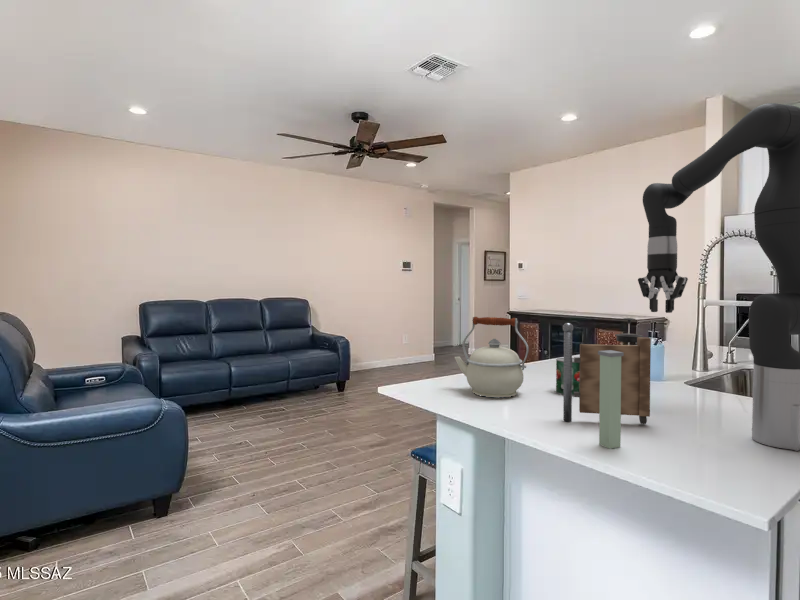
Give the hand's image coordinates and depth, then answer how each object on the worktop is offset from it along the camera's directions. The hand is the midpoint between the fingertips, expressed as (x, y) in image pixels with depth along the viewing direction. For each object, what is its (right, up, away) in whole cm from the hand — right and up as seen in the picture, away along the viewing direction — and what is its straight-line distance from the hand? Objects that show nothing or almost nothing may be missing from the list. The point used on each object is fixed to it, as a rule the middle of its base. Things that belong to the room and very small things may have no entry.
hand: (661, 311), depth 132 cm
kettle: (-47, -27, +17) cm, 57 cm away
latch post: (-30, -29, -32) cm, 52 cm away
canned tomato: (-21, -27, +16) cm, 38 cm away
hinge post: (-33, -28, -14) cm, 45 cm away
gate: (-22, -28, -16) cm, 39 cm away
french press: (+7, -26, +32) cm, 42 cm away
